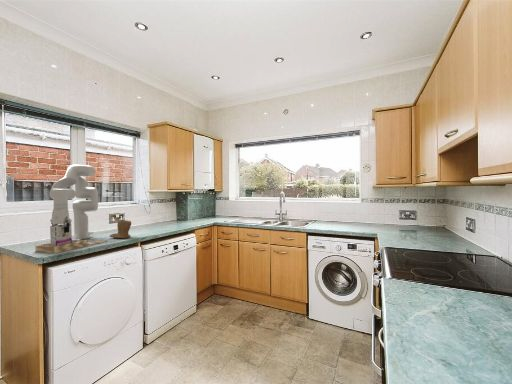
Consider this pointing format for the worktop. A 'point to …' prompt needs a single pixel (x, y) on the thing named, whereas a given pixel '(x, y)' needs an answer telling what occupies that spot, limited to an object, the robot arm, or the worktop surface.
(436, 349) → the worktop surface
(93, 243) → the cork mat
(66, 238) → the candy bar box
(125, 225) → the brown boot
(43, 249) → the wooden compartment tray
